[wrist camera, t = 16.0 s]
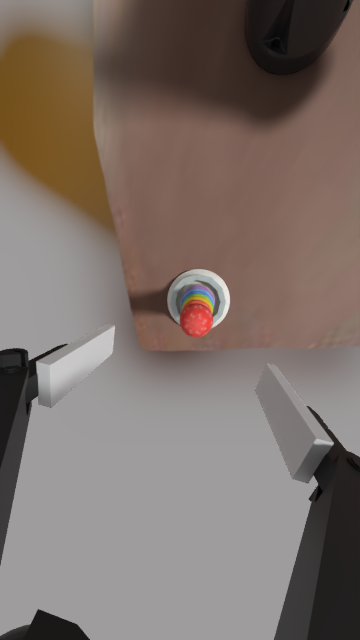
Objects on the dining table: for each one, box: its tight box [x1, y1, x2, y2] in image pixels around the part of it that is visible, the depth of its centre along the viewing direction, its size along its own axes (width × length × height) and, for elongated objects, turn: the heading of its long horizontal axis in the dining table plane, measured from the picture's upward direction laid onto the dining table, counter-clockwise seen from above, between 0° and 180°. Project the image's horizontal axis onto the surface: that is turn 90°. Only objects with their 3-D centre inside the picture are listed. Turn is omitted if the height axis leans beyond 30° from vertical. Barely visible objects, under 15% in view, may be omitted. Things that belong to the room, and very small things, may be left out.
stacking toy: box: [179, 284, 215, 337], centre depth 32 cm, size 8×8×19 cm
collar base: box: [167, 269, 230, 328], centre depth 41 cm, size 15×15×3 cm
